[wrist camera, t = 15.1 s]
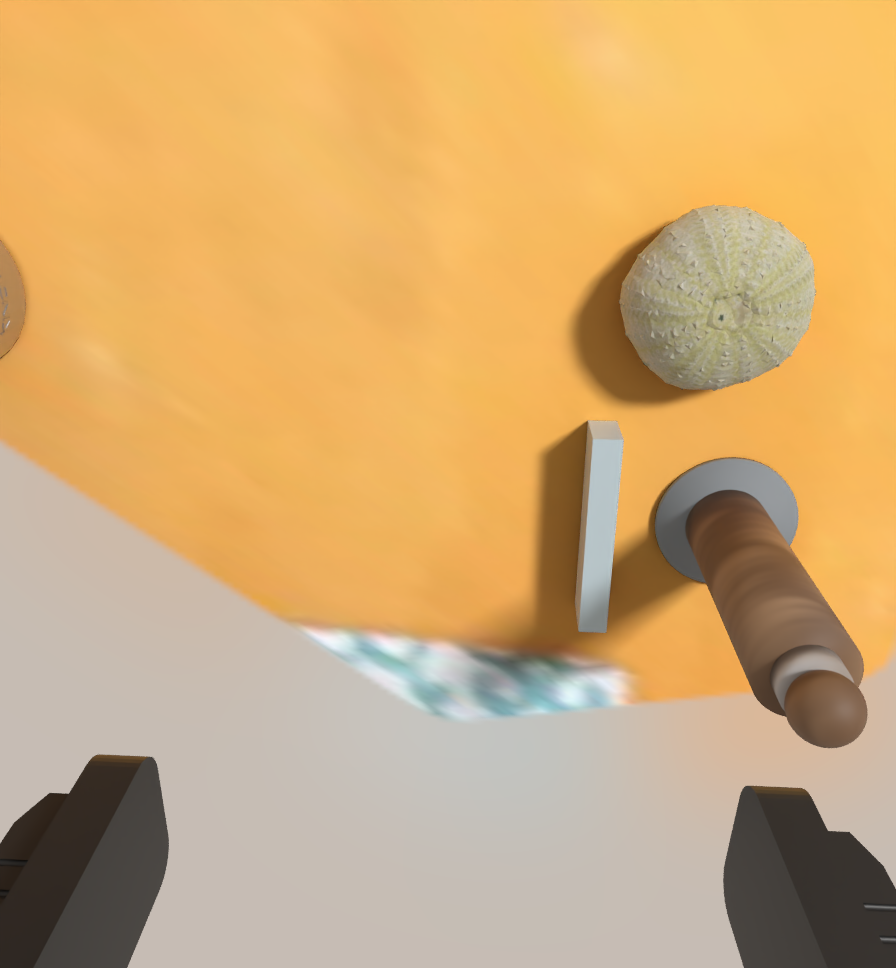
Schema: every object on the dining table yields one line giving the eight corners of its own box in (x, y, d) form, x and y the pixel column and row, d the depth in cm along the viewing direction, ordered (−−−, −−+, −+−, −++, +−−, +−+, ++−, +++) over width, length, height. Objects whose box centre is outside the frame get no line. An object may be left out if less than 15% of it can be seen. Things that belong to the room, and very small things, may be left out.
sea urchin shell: (810, 394, 42) (726, 425, 37) (681, 361, 48) (592, 384, 43) (850, 209, 39) (762, 217, 34) (705, 196, 44) (611, 201, 39)
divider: (574, 604, 50) (578, 631, 48) (587, 420, 46) (592, 439, 43) (601, 605, 50) (606, 632, 48) (616, 420, 46) (623, 439, 43)
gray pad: (648, 578, 49) (649, 582, 49) (662, 455, 46) (663, 458, 46) (783, 583, 49) (785, 586, 48) (807, 459, 46) (809, 461, 45)
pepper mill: (680, 559, 48) (767, 777, 32) (690, 488, 46) (787, 682, 30) (760, 562, 48) (888, 783, 32) (773, 490, 46) (915, 687, 30)
